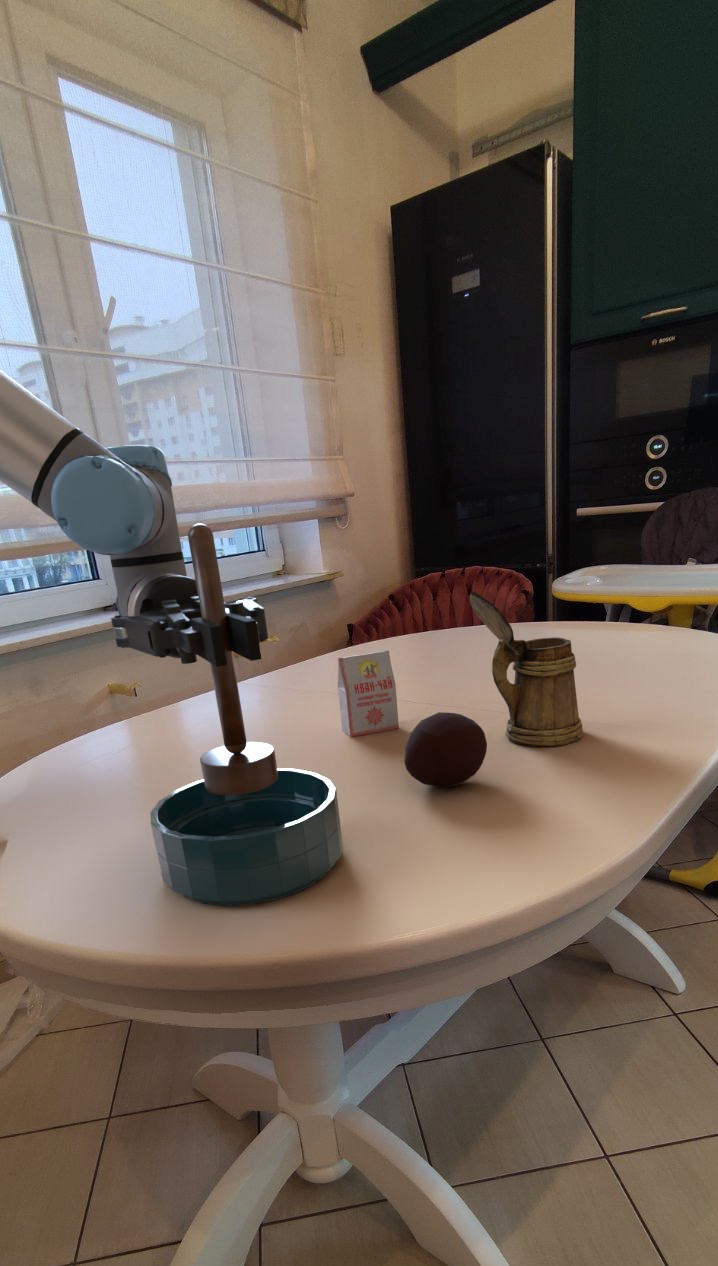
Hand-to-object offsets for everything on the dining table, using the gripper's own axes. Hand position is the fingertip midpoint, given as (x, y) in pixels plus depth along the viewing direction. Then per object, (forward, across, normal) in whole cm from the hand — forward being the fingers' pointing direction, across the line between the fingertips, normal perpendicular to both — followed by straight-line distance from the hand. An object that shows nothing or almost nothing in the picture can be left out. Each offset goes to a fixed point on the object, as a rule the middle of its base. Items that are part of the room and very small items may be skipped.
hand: (236, 643), depth 50 cm
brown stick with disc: (-6, 0, -12) cm, 13 cm away
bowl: (-6, 0, -20) cm, 20 cm away
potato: (-12, -22, -20) cm, 32 cm away
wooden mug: (-19, -38, -20) cm, 47 cm away
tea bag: (-36, -25, -20) cm, 48 cm away
